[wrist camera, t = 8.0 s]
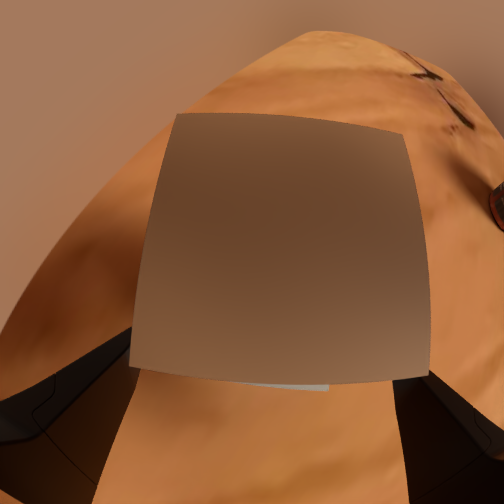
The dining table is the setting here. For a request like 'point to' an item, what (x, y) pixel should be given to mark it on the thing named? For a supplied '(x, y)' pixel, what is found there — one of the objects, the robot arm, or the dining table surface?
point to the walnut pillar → (283, 255)
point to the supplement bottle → (498, 204)
